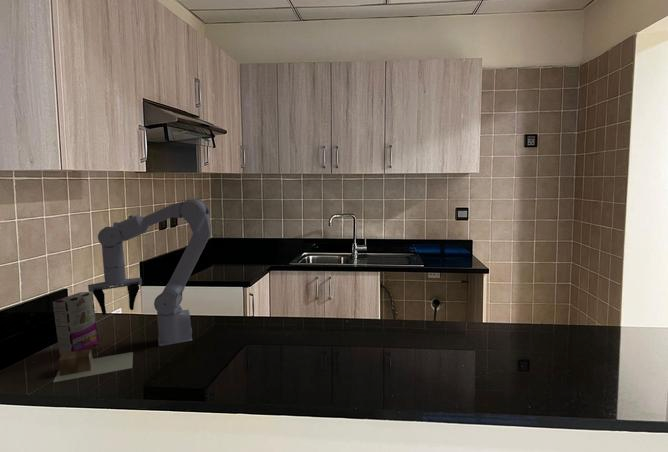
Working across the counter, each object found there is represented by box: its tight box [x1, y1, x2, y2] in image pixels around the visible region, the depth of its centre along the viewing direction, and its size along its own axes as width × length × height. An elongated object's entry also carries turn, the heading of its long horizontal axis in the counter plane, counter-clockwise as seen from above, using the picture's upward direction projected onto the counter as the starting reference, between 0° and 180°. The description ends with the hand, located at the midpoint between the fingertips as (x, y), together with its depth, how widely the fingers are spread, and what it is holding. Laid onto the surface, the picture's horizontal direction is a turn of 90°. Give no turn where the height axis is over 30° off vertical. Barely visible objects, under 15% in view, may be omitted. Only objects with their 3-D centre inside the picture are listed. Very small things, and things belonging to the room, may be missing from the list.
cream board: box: [52, 351, 134, 383], centre depth 128 cm, size 18×14×1 cm
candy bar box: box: [52, 291, 100, 356], centre depth 143 cm, size 11×5×16 cm, turn 168°
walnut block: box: [58, 348, 94, 376], centre depth 126 cm, size 4×6×7 cm
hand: (118, 311), depth 144 cm, fingers open, 7 cm apart
